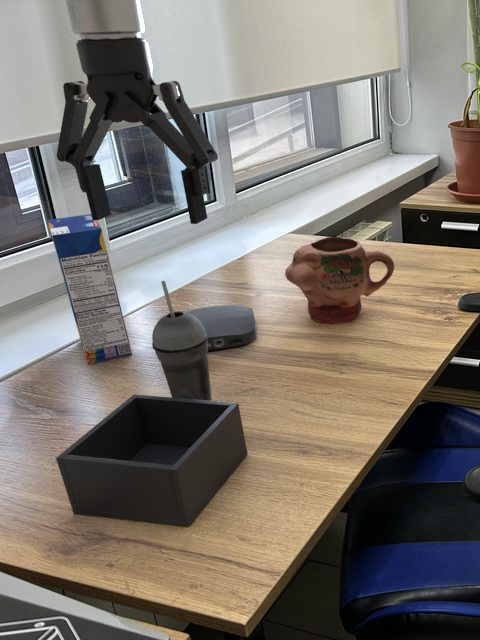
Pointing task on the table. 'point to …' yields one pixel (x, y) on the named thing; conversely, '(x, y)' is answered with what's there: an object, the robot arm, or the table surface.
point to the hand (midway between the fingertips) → (150, 219)
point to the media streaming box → (226, 325)
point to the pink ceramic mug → (335, 277)
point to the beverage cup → (183, 353)
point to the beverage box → (90, 287)
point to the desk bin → (154, 460)
